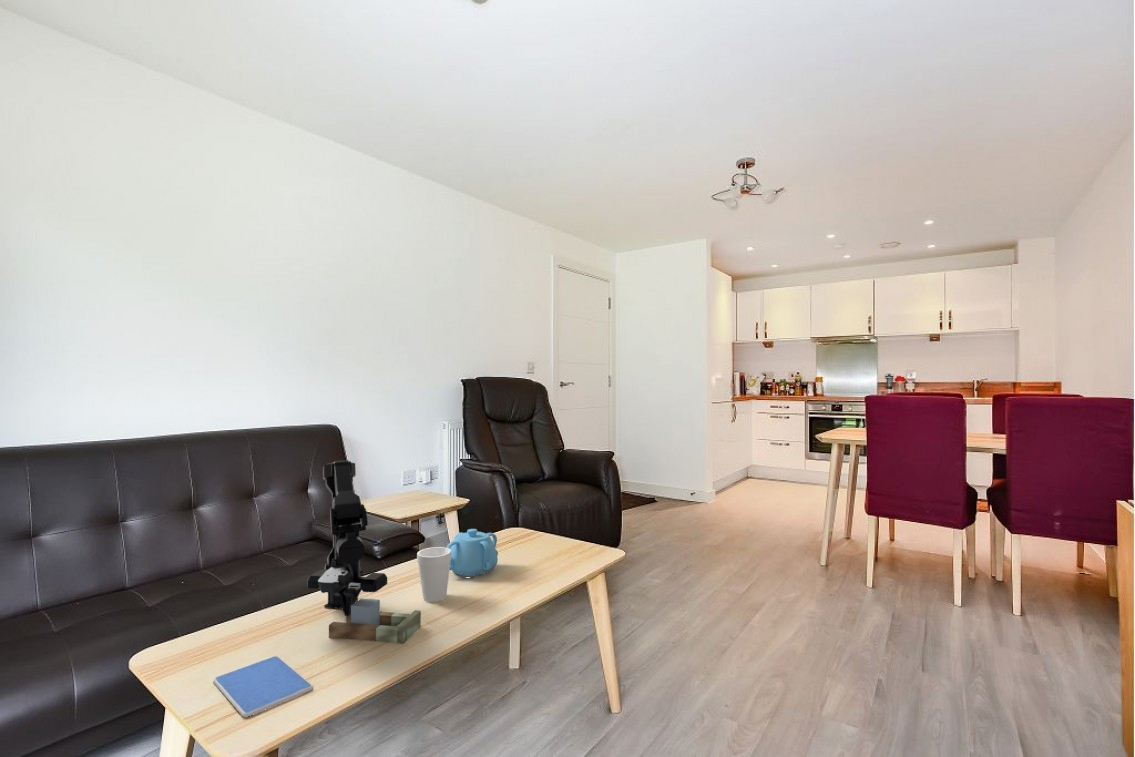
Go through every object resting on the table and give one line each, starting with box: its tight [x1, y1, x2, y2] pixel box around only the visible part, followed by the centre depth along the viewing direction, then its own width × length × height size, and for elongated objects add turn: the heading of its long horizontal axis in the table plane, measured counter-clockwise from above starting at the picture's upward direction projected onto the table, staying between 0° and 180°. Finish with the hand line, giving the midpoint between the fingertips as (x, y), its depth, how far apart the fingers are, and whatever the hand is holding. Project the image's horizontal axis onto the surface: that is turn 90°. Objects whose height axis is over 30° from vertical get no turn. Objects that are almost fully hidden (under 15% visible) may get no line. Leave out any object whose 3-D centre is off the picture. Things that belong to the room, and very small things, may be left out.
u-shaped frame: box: [328, 609, 422, 645], centre depth 129 cm, size 19×9×4 cm, turn 79°
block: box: [351, 597, 381, 625], centre depth 129 cm, size 5×4×7 cm
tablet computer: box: [212, 655, 314, 718], centre depth 106 cm, size 19×13×1 cm, turn 49°
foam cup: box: [416, 546, 451, 603], centre depth 149 cm, size 10×9×13 cm
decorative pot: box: [446, 528, 499, 578], centre depth 170 cm, size 16×16×14 cm
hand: (347, 615), depth 130 cm, fingers closed
